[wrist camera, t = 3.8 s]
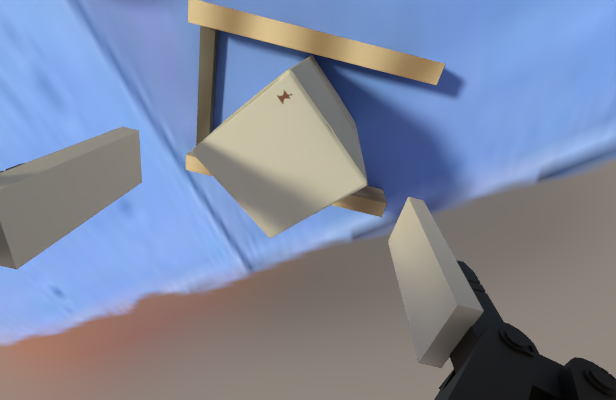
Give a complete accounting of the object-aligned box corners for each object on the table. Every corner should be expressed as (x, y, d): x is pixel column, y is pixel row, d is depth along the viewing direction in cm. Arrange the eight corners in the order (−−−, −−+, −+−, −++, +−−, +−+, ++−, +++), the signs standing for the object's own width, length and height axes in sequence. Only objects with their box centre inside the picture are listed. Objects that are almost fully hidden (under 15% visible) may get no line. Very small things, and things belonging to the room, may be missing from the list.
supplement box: (247, 104, 27) (183, 148, 16) (313, 52, 24) (292, 63, 13) (294, 166, 30) (267, 242, 18) (358, 126, 27) (372, 185, 16)
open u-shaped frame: (199, 158, 30) (185, 169, 27) (205, 2, 23) (188, -2, 21) (378, 201, 30) (381, 217, 28) (433, 61, 24) (445, 63, 21)
